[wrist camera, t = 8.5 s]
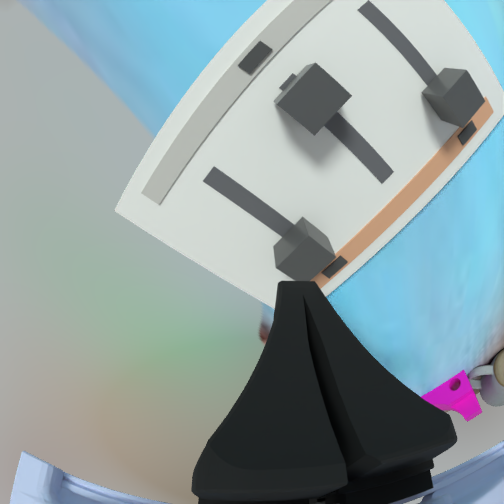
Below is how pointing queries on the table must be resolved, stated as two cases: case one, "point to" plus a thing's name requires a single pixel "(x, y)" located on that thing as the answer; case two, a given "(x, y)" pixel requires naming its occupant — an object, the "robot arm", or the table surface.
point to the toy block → (455, 397)
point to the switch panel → (310, 139)
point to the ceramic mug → (490, 381)
